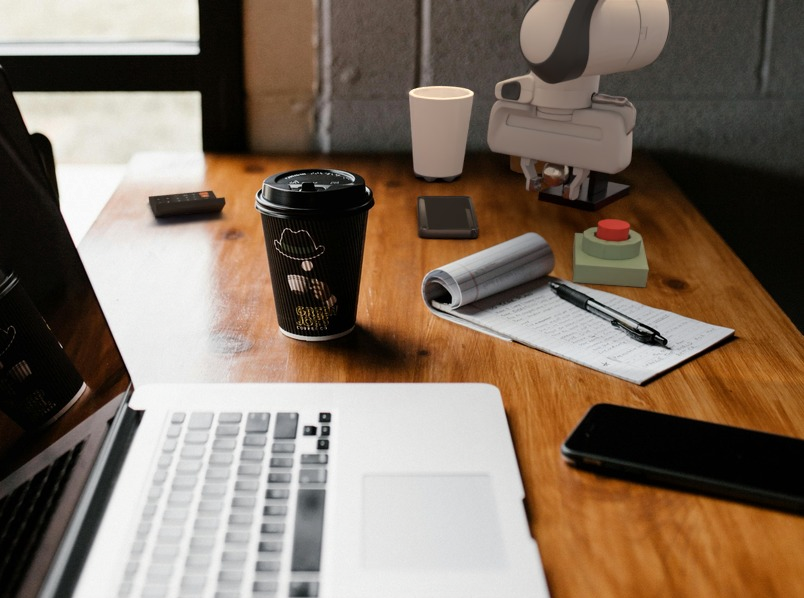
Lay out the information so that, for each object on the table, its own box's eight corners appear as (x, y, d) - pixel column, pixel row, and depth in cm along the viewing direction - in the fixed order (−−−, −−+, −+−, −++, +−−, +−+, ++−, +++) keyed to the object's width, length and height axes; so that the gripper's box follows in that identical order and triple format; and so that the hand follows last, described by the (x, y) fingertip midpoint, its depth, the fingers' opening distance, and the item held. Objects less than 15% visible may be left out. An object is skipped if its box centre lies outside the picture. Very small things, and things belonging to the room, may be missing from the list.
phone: (418, 229, 111) (417, 195, 124) (418, 238, 112) (416, 202, 124) (480, 230, 111) (472, 195, 123) (479, 238, 111) (471, 203, 124)
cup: (444, 165, 142) (448, 83, 136) (481, 179, 135) (487, 93, 129) (394, 173, 138) (396, 90, 131) (430, 188, 131) (433, 101, 124)
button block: (645, 287, 97) (651, 253, 95) (573, 282, 99) (577, 249, 97) (639, 254, 106) (644, 222, 104) (572, 249, 108) (576, 218, 106)
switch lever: (562, 194, 118) (558, 174, 115) (539, 189, 120) (535, 169, 117) (611, 124, 122) (609, 103, 119) (588, 121, 124) (585, 100, 121)
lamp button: (628, 244, 99) (631, 229, 98) (596, 242, 99) (598, 227, 99) (626, 234, 102) (629, 220, 101) (595, 232, 102) (597, 218, 102)
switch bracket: (593, 211, 121) (606, 117, 114) (537, 199, 126) (547, 108, 119) (629, 193, 128) (643, 103, 121) (574, 183, 133) (585, 96, 126)
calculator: (212, 196, 129) (210, 176, 127) (227, 219, 119) (225, 198, 117) (149, 202, 126) (146, 181, 125) (158, 226, 117) (155, 204, 115)
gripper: (649, 94, 108) (632, 203, 115) (510, 77, 120) (502, 176, 127) (626, 102, 104) (610, 214, 111) (484, 83, 116) (478, 186, 123)
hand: (551, 194), depth 119 cm, fingers open, 4 cm apart
